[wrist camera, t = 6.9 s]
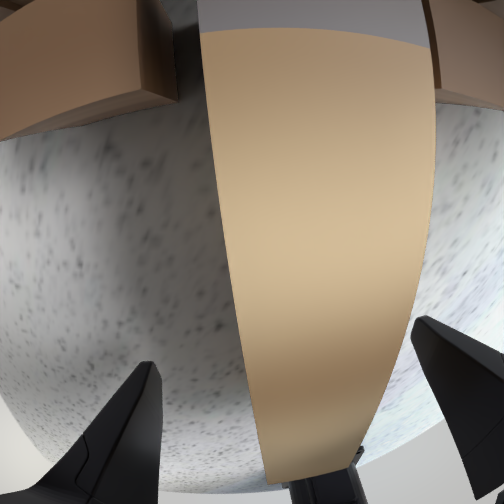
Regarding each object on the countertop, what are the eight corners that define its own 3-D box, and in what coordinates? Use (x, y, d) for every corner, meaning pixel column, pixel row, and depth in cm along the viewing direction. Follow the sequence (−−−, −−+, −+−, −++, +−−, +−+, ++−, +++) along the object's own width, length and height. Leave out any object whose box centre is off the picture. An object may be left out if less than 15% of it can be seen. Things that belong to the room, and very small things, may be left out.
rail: (316, 375, 12) (348, 467, 8) (252, 386, 12) (267, 484, 8) (310, 18, 6) (402, -57, 2) (205, 21, 6) (191, -80, 2)
